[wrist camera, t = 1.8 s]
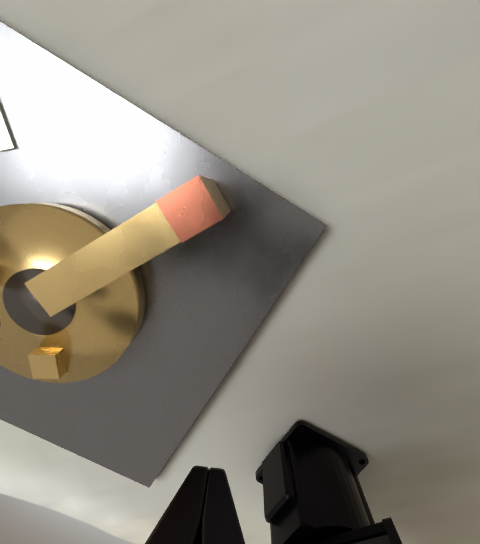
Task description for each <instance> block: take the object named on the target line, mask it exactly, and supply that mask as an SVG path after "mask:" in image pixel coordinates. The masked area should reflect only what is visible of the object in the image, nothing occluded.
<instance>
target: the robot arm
mask: <svg viewBox="0 0 480 544" xmlns="http://www.w3.org/2000/svg"><path fill="white" fill-rule="evenodd" d="M299 428H302V429H299ZM368 462H369V460H368V458H367V456H366V454H365V453H363V452H361V451H360V450H358V449H356V448H354V447H352V446H350V445H348V444H346V443H344V442H342V441H340V440H339V439H337V438H335V437H333V436H331V435H329V434H327V433H325V432H323V431H321V430H320V429H318V428H316V427H314V426H312V425H310V424H308V423H306V422H304V421H297V422H296V423H295V424H294V425H293V426H292V428H291V429H290V430H289V431H288V432H287V434H286V435H285V436H284V437H283V439H282V440H281V441H279V442H278V443H277V445H276V446H275V447H274V448H273V450H272V451H271V452H270V453H269V455H268V456H267V457H266V458H265V460H264V461H263V462H262V465H261V466H260V467H259V468H258V470H257V471H256V480H257V481H258V482H259V483H261V484H263V492H264V513H265V519H266V522H268V523H270V528H271V544H402V542H401V540H400V537H399V535H398V533H397V531H396V528H395V526H394V524H393V521H392V519H391V517H390V518H386V519H382V522H380V523H376V524H375V522H374V520H373V517H372V515H371V512H370V509H369V507H368V504H367V501H366V499H365V496H364V493H363V491H362V488H361V485H360V483H359V480H358V477H357V475H358V474H359V473H360V472H361V471H362V470H363V469H364V468H365V467H366V465H367V464H368ZM145 544H245V542H244V538H243V534H242V531H241V527H240V523H239V520H238V516H237V512H236V509H235V505H234V502H233V498H232V494H231V491H230V487H229V483H228V480H227V476H226V473H225V471H224V469H219V468H210V469H208V468H207V467H203V466H194V467H193V468H192V469H191V471H190V473H189V474H188V476H187V477H186V479H185V481H184V482H183V484H182V485H181V487H180V488H179V490H178V492H177V493H176V495H175V496H174V498H173V500H172V501H171V503H170V504H169V506H168V508H167V509H166V511H165V512H164V514H163V516H162V517H161V519H160V520H159V522H158V524H157V525H156V527H155V528H154V530H153V532H152V533H151V535H150V536H149V538H148V540H147V541H146V543H145Z"/></svg>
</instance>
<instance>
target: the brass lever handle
mask: <svg viewBox="0 0 480 544" xmlns="http://www.w3.org/2000/svg"><path fill="white" fill-rule="evenodd" d="M155 202H156V203H155V204H153V205H151V206H150V207H148V208H147V209H145V210H143V211H142V212H140V213H138V214H137V215H135V216H134V217H132V218H130V219H129V220H127V221H125V222H124V223H122V224H120V225H119V226H117V227H116V228H114V229H112V230H110V229H109V228H108V227H106V226H105V225H104V224H103V223H101V222H100V221H98V220H97V219H95V218H93V217H92V216H90V215H88V214H86V213H84V212H82V211H80V210H77V209H74V208H71V207H68V206H64V205H59V204H54V203H26V204H9V205H4V206H0V365H1V366H3V367H5V368H7V369H8V370H10V371H12V372H14V373H17V374H19V375H21V376H24V377H27V378H31V379H34V380H38V381H43V382H52V383H70V382H76V381H81V380H85V379H88V378H91V377H93V376H96V375H98V374H100V373H102V372H103V371H105V370H106V369H108V368H109V367H110V366H112V365H113V364H114V363H115V362H116V361H117V360H118V359H119V358H120V357H121V355H122V354H123V353H124V352H125V350H126V349H127V348H128V347H129V345H130V344H131V343H132V341H133V340H134V338H135V337H136V335H137V333H138V331H139V329H140V327H141V324H142V321H143V317H144V311H145V291H144V285H143V281H142V277H141V274H140V271H139V269H138V266H140V265H142V264H143V263H145V262H147V261H148V260H150V259H152V258H154V257H155V256H157V255H159V254H161V253H162V252H164V251H166V250H168V249H169V248H171V247H173V246H175V245H176V244H178V243H180V242H181V243H182V242H184V241H186V240H188V239H189V238H191V237H193V236H195V235H196V234H198V233H200V232H201V231H203V230H205V229H207V228H208V227H210V226H212V225H214V224H215V223H217V222H219V221H221V220H222V219H224V218H225V217H226V216H227V215H228V213H229V212H230V211H231V209H230V207H229V206H228V204H227V202H226V200H225V198H224V197H223V195H222V193H221V191H220V189H219V188H218V186H217V184H216V182H215V180H213V179H209V178H206V177H203V176H200V175H198V176H196V177H194V178H193V179H191V180H189V181H188V182H186V183H184V184H183V185H181V186H180V187H178V188H176V189H175V190H173V191H171V192H170V193H168V194H167V195H165V196H163V197H162V198H160V199H158V200H157V201H155Z"/></svg>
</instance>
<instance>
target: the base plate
mask: <svg viewBox="0 0 480 544" xmlns="http://www.w3.org/2000/svg"><path fill="white" fill-rule="evenodd" d="M198 175H200V176H203V177H206V178H209V179H213V180H215V182H216V184H217V186H218V188H219V189H220V191H221V193H222V195H223V197H224V198H225V200H226V202H227V204H228V206H229V207H230V209H231V211H230V212H229V213H228V215H227V216H226V217H225V218H224V219H222V220H221V221H219V222H217V223H215V224H214V225H212V226H210V227H208V228H207V229H205V230H203V231H201V232H200V233H198V234H196V235H195V236H193V237H191V238H189V239H188V240H186V241H184V242H182V243H181V242H180V243H178V244H176V245H175V246H173V247H171V248H169V249H168V250H166V251H164V252H162V253H161V254H159V255H157V256H155V257H154V258H152V259H150V260H148V261H147V262H145V263H143V264H142V265H140V266H138V269H139V271H140V274H141V277H142V281H143V285H144V291H145V311H144V317H143V321H142V324H141V327H140V329H139V331H138V333H137V335H136V337H135V338H134V340H133V341H132V343H131V344H130V345H129V347H128V348H127V349H126V350H125V352H124V353H123V354H122V355H121V357H120V358H119V359H118V360H117V361H116V362H115V363H114V364H113V365H112V366H110V367H109V368H108V369H106V370H105V371H103V372H102V373H100V374H98V375H96V376H93V377H91V378H88V379H85V380H81V381H76V382H70V383H52V382H43V381H38V380H34V379H31V378H27V377H24V376H21V375H19V374H17V373H14V372H12V371H10V370H8V369H7V368H5V367H3V366H1V365H0V419H1V420H3V421H5V422H8V423H10V424H12V425H14V426H16V427H19V428H21V429H23V430H25V431H27V432H29V433H32V434H34V435H36V436H38V437H40V438H42V439H45V440H47V441H49V442H51V443H53V444H55V445H58V446H60V447H62V448H64V449H66V450H69V451H71V452H73V453H75V454H77V455H79V456H82V457H84V458H86V459H88V460H90V461H92V462H95V463H97V464H99V465H101V466H103V467H106V468H108V469H110V470H112V471H114V472H116V473H119V474H121V475H123V476H125V477H127V478H129V479H132V480H134V481H136V482H138V483H140V484H142V485H145V486H147V487H150V486H151V484H152V483H153V481H154V480H155V478H156V477H157V476H158V474H159V473H160V471H161V470H162V468H163V467H164V465H165V464H166V462H167V461H168V459H169V458H170V456H171V455H172V453H173V452H174V450H175V449H176V447H177V446H178V444H179V443H180V441H181V440H182V439H183V437H184V436H185V434H186V433H187V431H188V430H189V428H190V427H191V425H192V424H193V422H194V421H195V419H196V418H197V416H198V415H199V413H200V412H201V410H202V409H203V407H204V406H205V405H206V403H207V402H208V400H209V399H210V397H211V396H212V394H213V393H214V391H215V390H216V388H217V387H218V385H219V384H220V382H221V381H222V379H223V378H224V376H225V375H226V373H227V372H228V370H229V369H230V368H231V366H232V365H233V363H234V362H235V360H236V359H237V357H238V356H239V354H240V353H241V351H242V350H243V348H244V347H245V345H246V344H247V342H248V341H249V339H250V338H251V336H252V335H253V334H254V332H255V331H256V329H257V328H258V326H259V325H260V323H261V322H262V320H263V319H264V317H265V316H266V314H267V313H268V311H269V310H270V308H271V307H272V305H273V304H274V302H275V301H276V300H277V298H278V297H279V295H280V294H281V292H282V291H283V289H284V288H285V286H286V285H287V283H288V282H289V280H290V279H291V277H292V276H293V274H294V273H295V271H296V270H297V268H298V267H299V265H300V264H301V263H302V261H303V260H304V258H305V257H306V255H307V254H308V252H309V251H310V249H311V248H312V246H313V245H314V243H315V242H316V240H317V239H318V237H319V236H320V234H321V233H322V231H323V230H324V229H325V227H326V226H327V225H325V224H324V223H322V222H321V221H319V220H317V219H316V218H314V217H313V216H311V215H309V214H308V213H306V212H305V211H303V210H301V209H300V208H298V207H297V206H295V205H293V204H292V203H290V202H288V201H287V200H285V199H284V198H282V197H280V196H279V195H277V194H276V193H274V192H272V191H271V190H269V189H268V188H266V187H264V186H263V185H261V184H260V183H258V182H256V181H255V180H253V179H252V178H250V177H248V176H247V175H245V174H244V173H242V172H240V171H239V170H237V169H236V168H234V167H232V166H231V165H229V164H228V163H226V162H224V161H223V160H221V159H220V158H218V157H216V156H215V155H213V154H212V153H210V152H208V151H207V150H205V149H204V148H202V147H200V146H199V145H197V144H195V143H194V142H192V141H191V140H189V139H187V138H186V137H184V136H183V135H181V134H179V133H178V132H176V131H175V130H173V129H171V128H170V127H168V126H167V125H165V124H163V123H162V122H160V121H159V120H157V119H155V118H154V117H152V116H151V115H149V114H147V113H146V112H144V111H143V110H141V109H139V108H138V107H136V106H135V105H133V104H131V103H130V102H128V101H127V100H125V99H123V98H122V97H120V96H119V95H117V94H115V93H114V92H112V91H110V90H109V89H107V88H106V87H104V86H102V85H101V84H99V83H98V82H96V81H94V80H93V79H91V78H90V77H88V76H86V75H85V74H83V73H82V72H80V71H78V70H77V69H75V68H74V67H72V66H70V65H69V64H67V63H66V62H64V61H62V60H61V59H59V58H58V57H56V56H54V55H53V54H51V53H50V52H48V51H46V50H45V49H43V48H42V47H40V46H38V45H37V44H35V43H34V42H32V41H30V40H29V39H27V38H26V37H24V36H22V35H21V34H19V33H17V32H16V31H14V30H13V29H11V28H9V27H8V26H6V25H5V24H3V23H1V22H0V206H4V205H9V204H26V203H54V204H59V205H64V206H68V207H71V208H74V209H77V210H80V211H82V212H84V213H86V214H88V215H90V216H92V217H93V218H95V219H97V220H98V221H100V222H101V223H103V224H104V225H105V226H106V227H108V228H109V229H110V230H112V229H114V228H116V227H117V226H119V225H120V224H122V223H124V222H125V221H127V220H129V219H130V218H132V217H134V216H135V215H137V214H138V213H140V212H142V211H143V210H145V209H147V208H148V207H150V206H151V205H153V204H155V203H156V202H155V201H157V200H158V199H160V198H162V197H163V196H165V195H167V194H168V193H170V192H171V191H173V190H175V189H176V188H178V187H180V186H181V185H183V184H184V183H186V182H188V181H189V180H191V179H193V178H194V177H196V176H198Z"/></svg>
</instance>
